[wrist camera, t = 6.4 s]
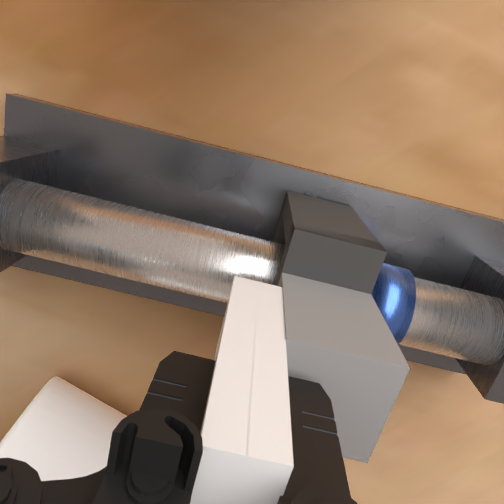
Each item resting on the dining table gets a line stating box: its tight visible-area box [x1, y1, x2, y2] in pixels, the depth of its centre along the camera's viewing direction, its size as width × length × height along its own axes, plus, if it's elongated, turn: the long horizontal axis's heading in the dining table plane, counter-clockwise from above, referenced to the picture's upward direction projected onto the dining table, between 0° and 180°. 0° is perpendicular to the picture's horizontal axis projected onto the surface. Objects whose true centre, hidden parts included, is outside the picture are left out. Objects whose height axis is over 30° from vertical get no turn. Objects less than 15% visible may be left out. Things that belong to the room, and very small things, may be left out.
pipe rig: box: [0, 94, 504, 404], centre depth 18 cm, size 24×8×6 cm, turn 76°
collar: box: [273, 191, 410, 463], centre depth 15 cm, size 3×6×10 cm, turn 166°
